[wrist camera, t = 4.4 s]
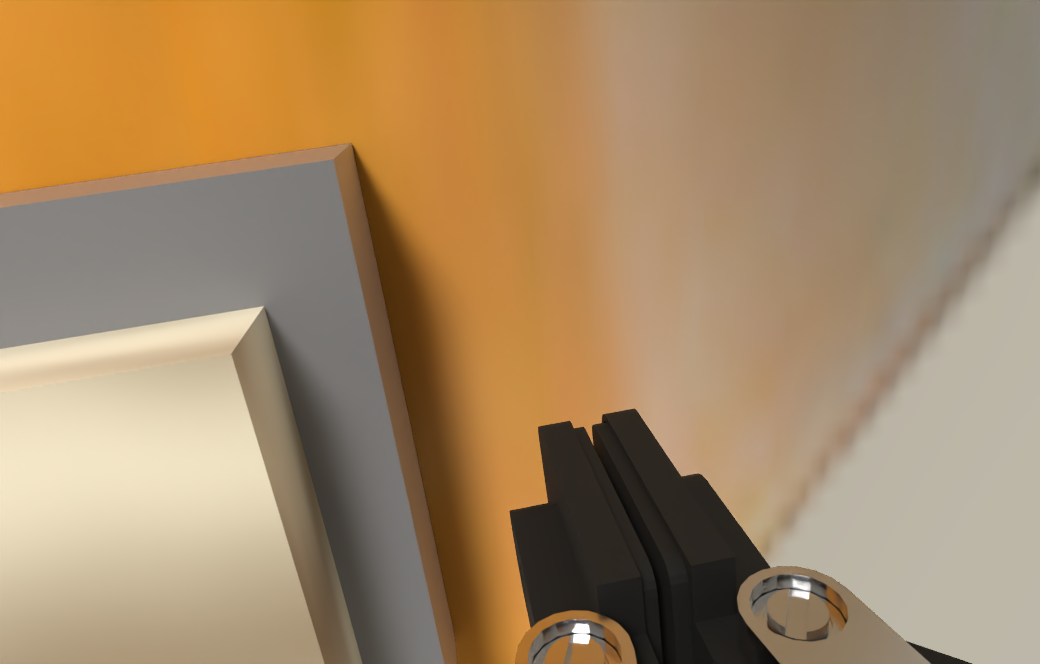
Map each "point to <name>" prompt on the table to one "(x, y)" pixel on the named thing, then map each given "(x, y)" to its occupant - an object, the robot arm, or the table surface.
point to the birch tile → (161, 503)
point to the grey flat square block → (295, 330)
